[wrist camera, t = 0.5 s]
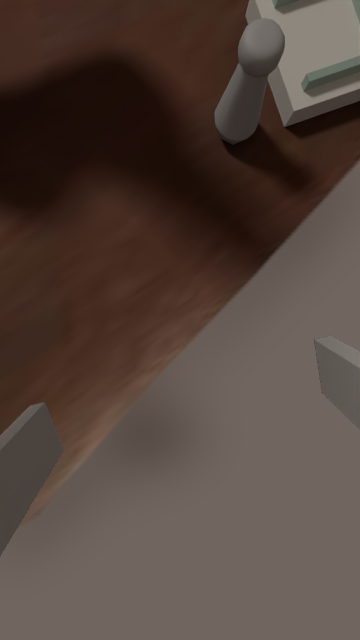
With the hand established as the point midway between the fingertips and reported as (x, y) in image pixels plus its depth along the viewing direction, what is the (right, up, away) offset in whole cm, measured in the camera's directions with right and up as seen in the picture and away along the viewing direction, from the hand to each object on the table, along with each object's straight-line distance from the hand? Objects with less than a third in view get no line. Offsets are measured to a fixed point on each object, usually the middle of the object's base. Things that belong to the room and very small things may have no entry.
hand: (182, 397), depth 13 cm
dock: (+18, +40, +26) cm, 51 cm away
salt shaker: (+7, +30, +25) cm, 40 cm away
